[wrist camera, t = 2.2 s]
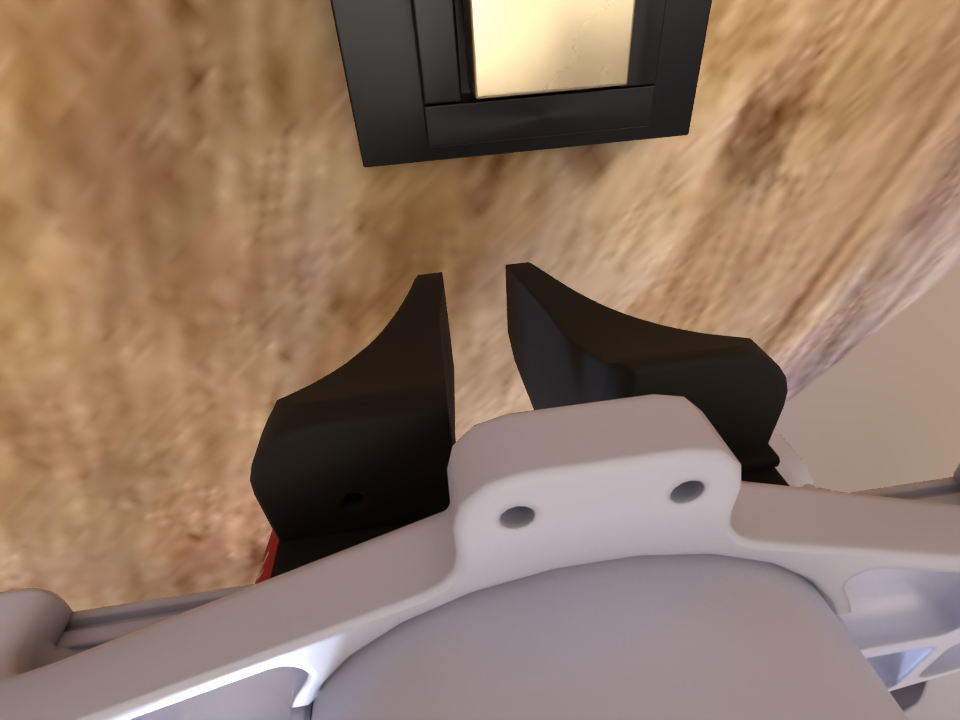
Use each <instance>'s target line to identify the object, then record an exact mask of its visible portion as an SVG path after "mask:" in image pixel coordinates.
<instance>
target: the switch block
mask: <svg viewBox="0 0 960 720" xmlns="http://www.w3.org/2000/svg"><path fill="white" fill-rule="evenodd" d="M330 1H331V6H332V11H333V16H334V21H335V26H336V31H337V36H338V41H339V46H340V51H341V56H342V61H343V66H344V71H345V76H346V81H347V87H348V92H349V97H350V102H351V107H352V112H353V117H354V122H355V127H356V132H357V137H358V142H359V147H360V152H361V157H362V162H363V166H364V167H374V166H384V165H394V164H404V163H414V162H424V161H434V160H443V159H453V158H463V157H473V156H483V155H493V154H503V153H513V152H523V151H533V150H543V149H553V148H562V147H572V146H582V145H592V144H602V143H612V142H622V141H632V140H642V139H652V138H662V137H672V136H682V135H687V134H688V133H689V127H690V121H691V116H692V110H693V104H694V99H695V93H696V87H697V82H698V76H699V70H700V65H701V59H702V53H703V48H704V42H705V36H706V31H707V25H708V19H709V14H710V8H711V2H712V0H635V9H634V19H633V29H632V39H631V49H630V59H629V68H628V78H627V84H626V85H623V86H612V87H602V88H591V89H580V90H569V91H559V92H548V93H537V94H526V95H516V96H505V97H494V98H484V99H477V98H476V97H475V96H474V95H473V94H472V92H471V91H470V89H469V82H468V67H467V52H466V38H465V23H464V8H463V0H330Z"/></svg>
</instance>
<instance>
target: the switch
mask: <svg viewBox="0 0 960 720" xmlns="http://www.w3.org/2000/svg"><path fill="white" fill-rule="evenodd" d="M463 8H464V23H465V38H466V52H467V67H468V82H469V89H470V91H471V92H472V94H473V95H474V96H475V97H476V98H477V99H484V98H494V97H505V96H516V95H526V94H537V93H548V92H559V91H569V90H580V89H591V88H602V87H612V86H623V85H626V84H627V78H628V68H629V59H630V49H631V39H632V29H633V19H634V9H635V0H463Z"/></svg>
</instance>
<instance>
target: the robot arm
mask: <svg viewBox="0 0 960 720" xmlns="http://www.w3.org/2000/svg"><path fill="white" fill-rule="evenodd" d="M506 292H507V320H508V334H509V338H510V343H511V347H512V351H513V355H514V359H515V362H516V365H517V368H518V370H519V373H520V375H521V378H522V380H523V383H524V385H525V388H526V390H527V393H528V395H529V398H530V400H531V403H532V405H533V408H534V410H533V411H525V412H518V413H511V414H506V415H503V416H500V417H497V418H494V419H491V420H488V421H486V422H483V423H480V424H477V425H474V426H473V427H472V428H471V429H470V430H469V431H468V432H467V433H466V434H465V435H464V436H463V437H461V438H460V439H459V440H458V441H457V442H456V440H455V397H454V364H453V356H452V347H451V339H450V331H449V322H448V314H447V306H446V297H445V289H444V281H443V275H442V272H440V273H431V274H423V275H418V276H417V277H416V279H415V280H414V283H413V285H412V287H411V289H410V291H409V293H408V295H407V296H406V298H405V300H404V301H403V303H402V305H401V306H400V308H399V309H398V311H397V312H396V314H395V315H394V317H393V318H392V319H391V321H390V322H389V323H388V325H387V326H386V327H385V328H384V330H383V331H382V332H381V333H380V334H379V335H378V337H376V338H375V339H374V340H373V341H372V342H371V343H370V344H369V345H368V346H367V347H366V348H365V349H364V350H362V351H361V352H360V353H358V354H357V355H356V356H355V357H353V358H352V359H351V360H350V361H348V362H347V363H346V364H344V365H343V366H341V367H340V368H338V369H337V370H335V371H334V372H332V373H331V374H329V375H327V376H326V377H324V378H322V379H320V380H319V381H317V382H315V383H313V384H311V385H309V386H307V387H305V388H303V389H301V390H299V391H297V392H294V393H292V394H290V395H288V396H286V397H284V398H281V399H279V400H277V402H276V404H275V406H274V408H273V410H272V412H271V414H270V416H269V418H268V420H267V423H266V425H265V427H264V430H263V432H262V435H261V438H260V441H259V444H258V448H257V451H256V454H255V457H254V460H253V463H252V467H251V476H250V482H251V485H252V488H253V491H254V495H255V496H256V498H257V500H258V502H259V504H260V506H261V508H262V510H263V512H264V513H265V515H266V517H267V519H268V521H269V523H270V525H271V527H272V528H273V530H274V532H275V534H276V536H277V538H278V540H279V542H278V546H277V550H276V555H275V559H274V563H273V568H272V572H271V576H270V579H268V580H265V581H263V582H260V583H258V584H252V585H245V586H239V587H232V588H226V589H219V590H212V591H206V592H199V593H193V594H186V595H180V596H173V597H167V598H160V599H154V600H147V601H141V602H134V603H128V604H121V605H115V606H108V607H102V608H95V609H89V610H82V611H76V612H73V611H72V610H71V608H70V607H69V606H68V604H67V603H66V602H65V601H64V600H63V599H62V598H61V597H60V596H59V595H57V594H55V593H53V592H51V591H48V590H44V589H39V588H26V589H19V590H13V591H6V592H0V720H960V464H959V465H958V467H957V469H956V471H955V472H954V476H953V477H949V478H943V479H936V480H930V481H923V482H918V483H911V484H904V485H897V486H891V487H884V488H878V489H871V490H865V491H858V492H851V493H846V492H837V491H831V490H828V489H823V488H816V487H815V486H814V482H813V479H812V476H811V474H810V471H809V469H808V467H807V465H806V464H805V462H804V461H803V459H802V458H801V457H800V456H799V455H798V453H797V452H796V451H795V450H794V449H793V448H792V447H791V445H790V444H789V443H788V442H787V441H786V440H785V438H784V437H783V436H782V435H781V434H780V433H779V432H778V431H777V429H776V428H775V426H776V423H777V421H778V418H779V416H780V414H781V411H782V409H783V406H784V403H785V399H786V395H787V391H788V390H787V381H786V377H785V375H784V373H783V372H782V370H781V368H780V367H779V366H778V365H777V364H776V363H775V362H774V361H773V360H772V359H771V358H770V357H769V356H768V355H767V354H766V353H765V352H764V351H763V350H762V349H761V348H760V347H759V346H758V345H757V344H756V343H755V342H753V341H752V340H751V339H750V338H740V337H731V336H721V335H712V334H704V333H698V332H692V331H687V330H681V329H676V328H672V327H667V326H663V325H659V324H655V323H652V322H648V321H645V320H641V319H638V318H635V317H632V316H629V315H626V314H623V313H621V312H618V311H616V310H613V309H611V308H608V307H606V306H603V305H601V304H599V303H597V302H595V301H593V300H591V299H589V298H587V297H585V296H583V295H581V294H580V293H578V292H576V291H574V290H572V289H571V288H569V287H567V286H566V285H564V284H563V283H561V282H559V281H558V280H556V279H555V278H553V277H552V276H550V275H548V274H547V273H545V272H544V271H542V270H541V269H539V268H538V267H536V266H535V265H533V264H531V263H529V262H526V263H518V264H509V265H506Z"/></svg>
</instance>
